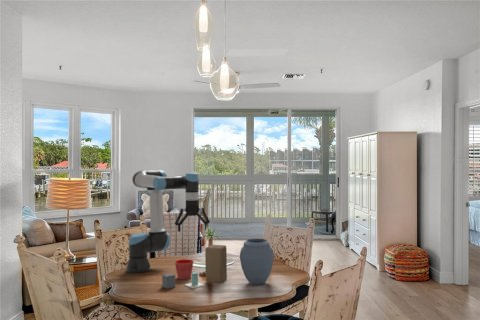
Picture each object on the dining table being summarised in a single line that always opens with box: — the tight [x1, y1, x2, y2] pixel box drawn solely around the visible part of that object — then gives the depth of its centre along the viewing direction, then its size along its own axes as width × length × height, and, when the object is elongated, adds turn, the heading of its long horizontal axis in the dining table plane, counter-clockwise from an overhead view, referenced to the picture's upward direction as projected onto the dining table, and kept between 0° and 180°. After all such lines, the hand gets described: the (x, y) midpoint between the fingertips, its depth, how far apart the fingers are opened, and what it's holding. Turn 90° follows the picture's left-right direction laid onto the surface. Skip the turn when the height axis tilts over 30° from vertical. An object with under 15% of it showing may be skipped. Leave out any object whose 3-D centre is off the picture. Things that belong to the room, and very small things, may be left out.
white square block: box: [184, 271, 206, 289], centre depth 234 cm, size 8×8×7 cm
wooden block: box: [204, 244, 228, 284], centre depth 244 cm, size 10×10×20 cm
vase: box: [239, 238, 275, 286], centre depth 237 cm, size 20×20×24 cm
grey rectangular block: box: [161, 272, 176, 289], centre depth 233 cm, size 5×5×7 cm
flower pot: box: [174, 258, 194, 280], centre depth 252 cm, size 11×11×10 cm
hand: (192, 236), depth 242 cm, fingers open, 13 cm apart
